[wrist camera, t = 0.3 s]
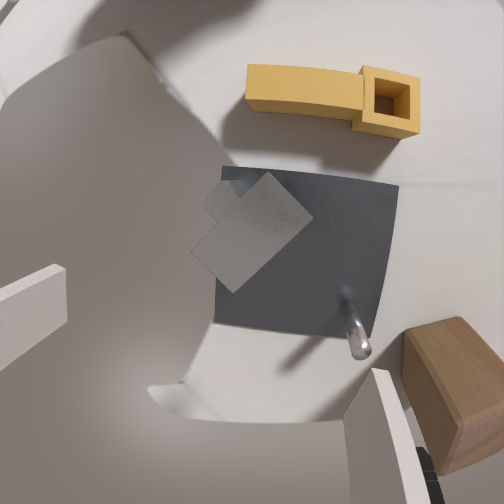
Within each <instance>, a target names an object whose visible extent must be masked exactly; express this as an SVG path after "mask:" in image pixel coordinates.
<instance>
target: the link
mask: <svg viewBox="0 0 504 504" xmlns="http://www.w3.org/2000/svg"><path fill="white" fill-rule="evenodd" d="M374 94H375V95H380V96H385V97H389V98H393V116H390V115H385V114H380V113H375V112H374ZM245 100H246V102H247V103H248V104H249V106H250V107H251V109H252V110H253V111H257V112H275V113H289V114H300V115H310V116H319V117H327V118H335V119H342V120H349V121H352V131H358V132H364V133H370V134H375V135H381V136H386V137H391V138H396V139H401V140H402V139H405V138H408V137H411V136H414V135H417V134H420V79H419V78H417V77H413V76H409V75H406V74H402V73H398V72H393V71H389V70H385V69H380V68H375V67H370V66H365V65H363V66H362V68H361V70H360V72H359V73H358V74H354V73H348V72H342V71H335V70H327V69H319V68H309V67H298V66H284V65H260V64H248V67H247V78H246V89H245Z"/></svg>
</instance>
